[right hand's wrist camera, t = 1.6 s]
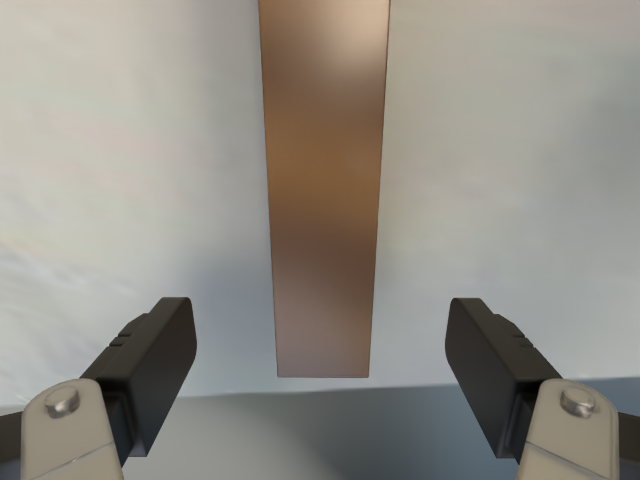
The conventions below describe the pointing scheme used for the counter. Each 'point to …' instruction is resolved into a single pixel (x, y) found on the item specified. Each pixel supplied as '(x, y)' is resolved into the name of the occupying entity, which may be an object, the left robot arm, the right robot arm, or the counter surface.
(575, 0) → the counter surface
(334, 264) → the post
